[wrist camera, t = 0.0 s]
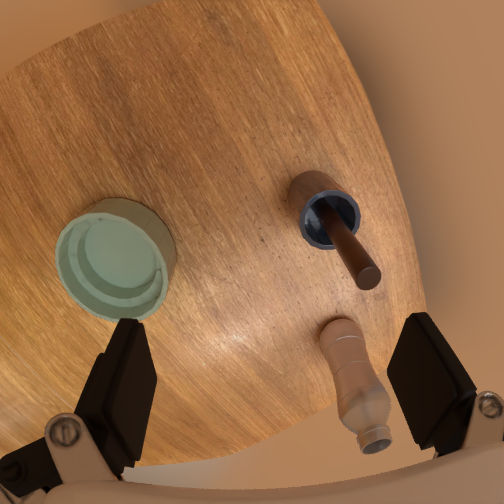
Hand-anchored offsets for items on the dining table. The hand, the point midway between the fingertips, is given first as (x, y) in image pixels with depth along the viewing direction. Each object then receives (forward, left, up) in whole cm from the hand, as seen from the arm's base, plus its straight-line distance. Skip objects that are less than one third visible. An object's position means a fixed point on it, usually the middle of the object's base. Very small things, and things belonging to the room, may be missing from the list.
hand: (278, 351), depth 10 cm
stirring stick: (+2, +7, -24) cm, 25 cm away
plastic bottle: (+22, +13, -26) cm, 37 cm away
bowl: (+9, -16, -26) cm, 32 cm away
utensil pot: (+2, +7, -26) cm, 27 cm away
